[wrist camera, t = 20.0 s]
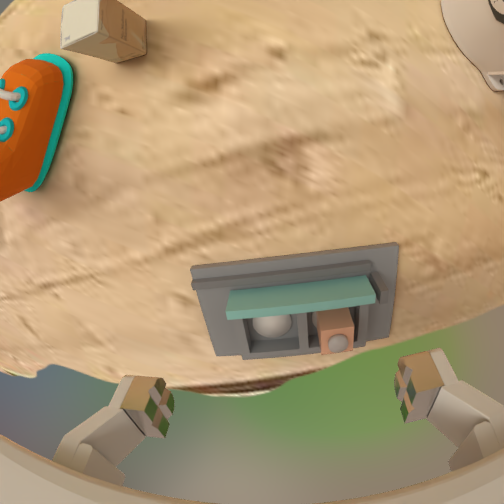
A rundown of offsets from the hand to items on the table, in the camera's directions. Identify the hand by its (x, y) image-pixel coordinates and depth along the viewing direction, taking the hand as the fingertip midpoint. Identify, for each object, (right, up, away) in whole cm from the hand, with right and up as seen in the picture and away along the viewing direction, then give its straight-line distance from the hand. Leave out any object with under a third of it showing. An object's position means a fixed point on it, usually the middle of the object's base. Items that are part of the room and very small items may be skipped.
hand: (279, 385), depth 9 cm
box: (-15, +29, +16) cm, 37 cm away
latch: (+5, 0, +27) cm, 28 cm away
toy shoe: (-31, +23, +21) cm, 43 cm away
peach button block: (+10, -4, +29) cm, 31 cm away
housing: (+6, -3, +30) cm, 30 cm away
